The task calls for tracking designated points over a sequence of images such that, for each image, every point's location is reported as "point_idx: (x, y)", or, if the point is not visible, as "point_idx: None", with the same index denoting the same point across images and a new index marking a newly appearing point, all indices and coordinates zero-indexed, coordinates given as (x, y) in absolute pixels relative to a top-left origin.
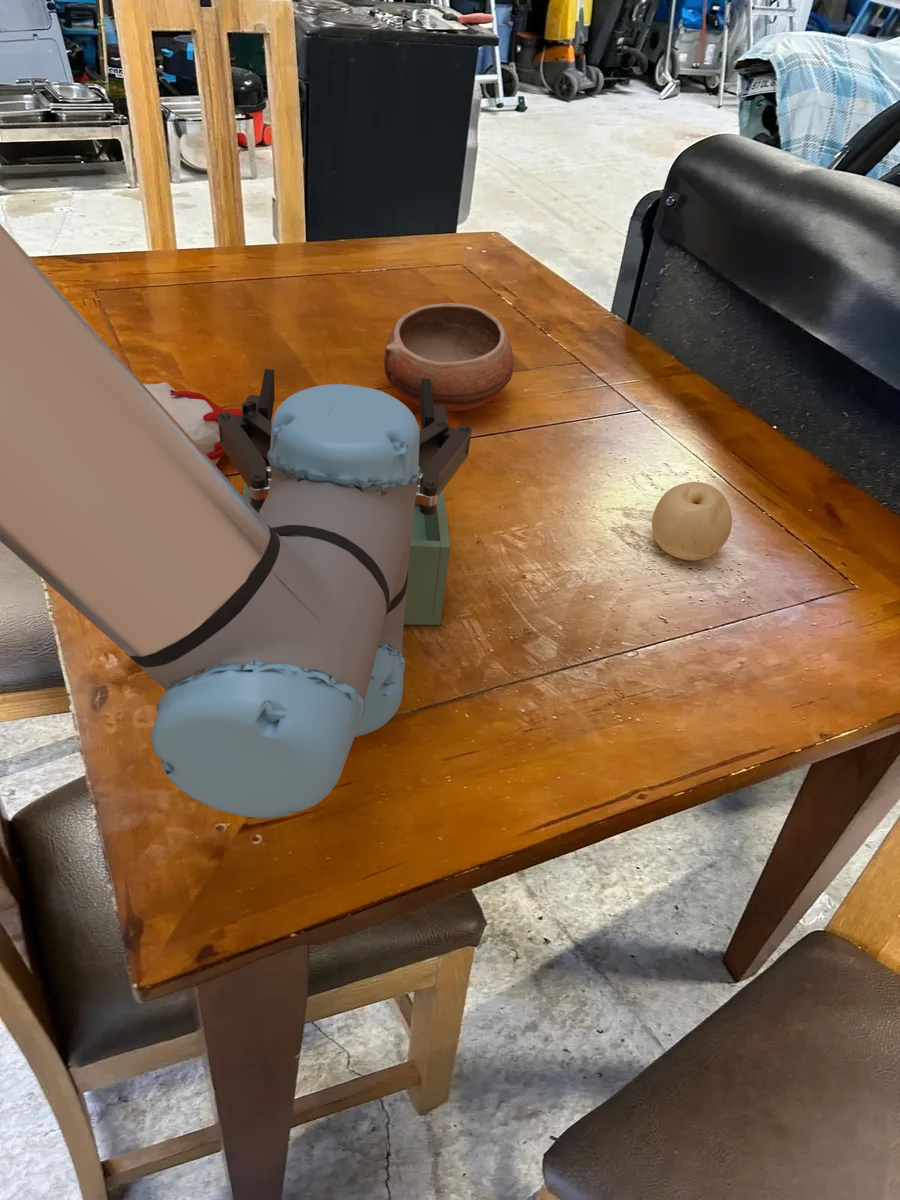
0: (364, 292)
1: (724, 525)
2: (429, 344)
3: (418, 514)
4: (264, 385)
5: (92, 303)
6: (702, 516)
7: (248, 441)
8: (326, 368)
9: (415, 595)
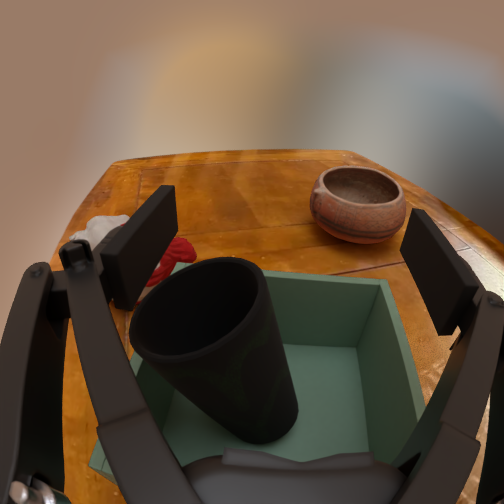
0: (290, 169)
1: None
2: (339, 194)
3: (351, 358)
4: (143, 208)
5: (137, 175)
6: None
7: (22, 355)
8: (265, 208)
9: None
